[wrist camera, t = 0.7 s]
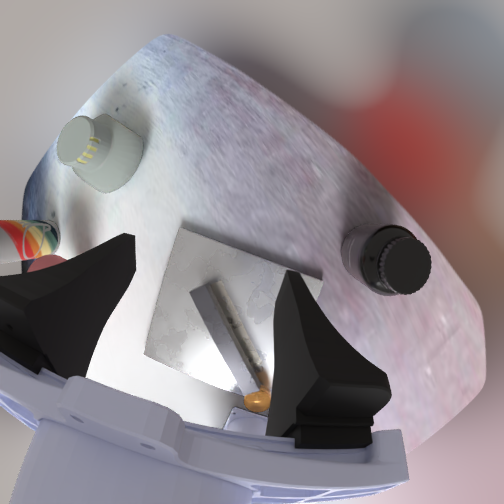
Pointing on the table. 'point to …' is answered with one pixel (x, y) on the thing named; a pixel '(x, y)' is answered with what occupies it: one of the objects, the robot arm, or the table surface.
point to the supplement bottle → (386, 259)
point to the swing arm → (230, 349)
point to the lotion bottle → (27, 239)
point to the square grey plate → (231, 301)
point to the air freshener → (100, 151)
